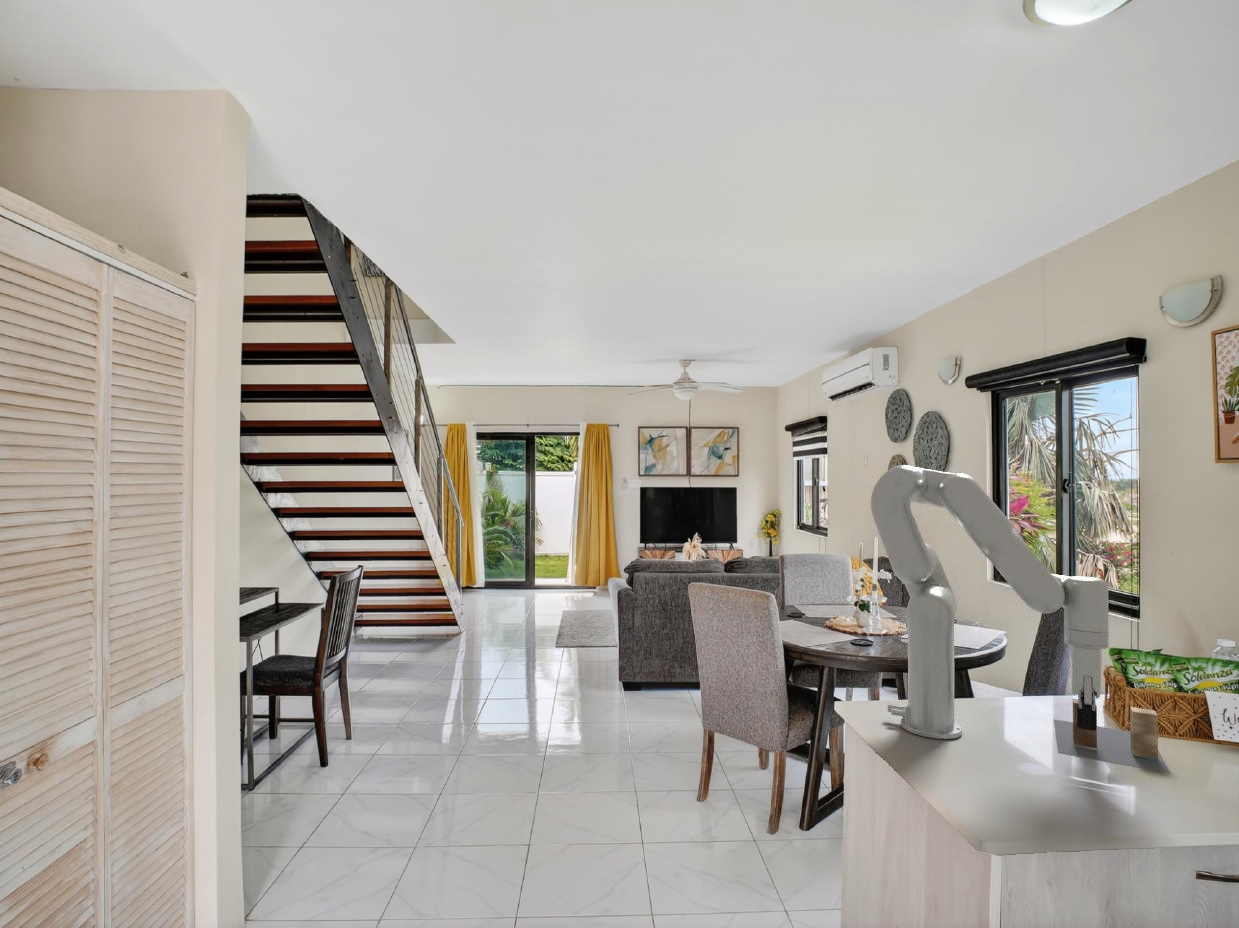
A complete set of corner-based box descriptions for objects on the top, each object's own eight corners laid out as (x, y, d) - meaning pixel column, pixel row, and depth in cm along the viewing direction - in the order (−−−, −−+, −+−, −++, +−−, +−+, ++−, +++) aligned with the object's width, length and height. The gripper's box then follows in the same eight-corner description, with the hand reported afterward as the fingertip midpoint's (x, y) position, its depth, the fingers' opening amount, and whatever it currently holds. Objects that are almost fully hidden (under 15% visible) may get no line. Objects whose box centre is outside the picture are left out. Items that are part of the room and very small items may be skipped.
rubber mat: (1058, 754, 139) (1058, 752, 139) (1053, 720, 160) (1053, 719, 160) (1170, 775, 130) (1170, 772, 130) (1150, 736, 150) (1150, 734, 150)
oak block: (1133, 756, 138) (1132, 711, 138) (1130, 750, 141) (1130, 706, 141) (1158, 760, 136) (1157, 715, 136) (1155, 754, 139) (1154, 710, 139)
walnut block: (1073, 746, 143) (1073, 702, 143) (1072, 740, 146) (1072, 698, 146) (1096, 750, 141) (1096, 706, 141) (1095, 744, 144) (1095, 701, 144)
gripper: (1062, 629, 148) (1063, 714, 147) (1065, 642, 135) (1066, 735, 134) (1105, 633, 144) (1105, 721, 143) (1112, 647, 131) (1112, 743, 130)
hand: (1086, 728), depth 139 cm, fingers closed
